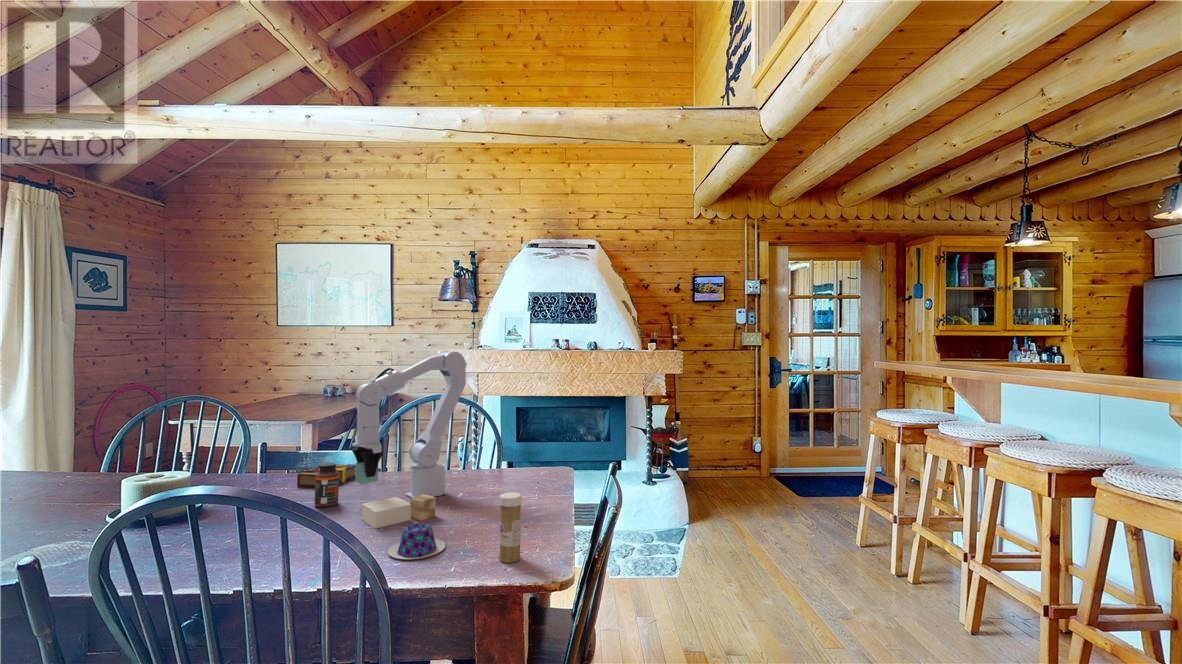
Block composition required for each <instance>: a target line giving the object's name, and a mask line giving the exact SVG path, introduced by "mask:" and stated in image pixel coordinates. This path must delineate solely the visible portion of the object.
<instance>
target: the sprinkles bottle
mask: <svg viewBox="0 0 1182 664" xmlns="http://www.w3.org/2000/svg"><path fill="white" fill-rule="evenodd" d="M522 497H523V496H522V494H521V493H519V492H512V491H511V492H510V491H509V492H503V493H501V494H500V495H499V505H500V522H499V556H498V559H499V561H500V562H503V563H507V564H510V563H515V562H517V561H519V560H520V559H521V539H522V538H521V537H522V535H521V533H522V529H521V528H522V518H521V516H522V515H521V514H522V512H521V510H522V509H521V507H522V505H521V504H522V502H523V501H522Z"/></svg>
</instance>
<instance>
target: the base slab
mask: <svg viewBox="0 0 1182 664" xmlns="http://www.w3.org/2000/svg"><path fill="white" fill-rule="evenodd" d="M411 520H412V518H411V504H410V502H408V501H405V500H403V499H401V498H399V497H397V496H394V497H388V498H384V499H380V500H374V501H370V502H365V503H361V521H363V522H365V523H366V524H367V525H369V526H371V527H372V528H374V529H378V528H383V527H387V526H391V525H396V524H401V523H405V522H409V521H411Z"/></svg>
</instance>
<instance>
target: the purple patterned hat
mask: <svg viewBox="0 0 1182 664" xmlns="http://www.w3.org/2000/svg"><path fill="white" fill-rule="evenodd" d="M400 538H401V539H400V541H399V542H397V543H395V544H392V545H391V546H390V547H389V548H388V550H387V554H388V555H389V557H392V558H395V559H398V560H399V559H400V560H417V559H424V558H428V557H431V556H434V555H437V554H438V553H440V552H442V551H443V550H444V549H445V548H446V542H445V541H443V540H441V539H438V538H435V535H434V531H433V527H432V526H430V524H427V523H413V524H409V525H406V526H405V527H404V528H403V530H402V534H401V537H400ZM436 546H438V548H437V547H436Z"/></svg>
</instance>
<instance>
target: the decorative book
mask: <svg viewBox="0 0 1182 664" xmlns="http://www.w3.org/2000/svg"><path fill="white" fill-rule="evenodd" d="M335 464H336V468H335V469H336V470H337V471H338V472H339V484H344V483H346V481H349V480H352V479H351V478H353V477H355V464H356V463H355V464H353V463H350V464H349V463H347V464H338V463H335ZM319 471H320V465H317V467H315V468H311V469H306V470H303V472H300V473H297V481H296V483H297V484H296V485H297V487H302V488H303V487H304V488H305V487H306V488H315V479H316V474H317V473H318V472H319ZM348 479H349V480H348ZM353 479H354V478H353ZM343 482H344V483H343Z"/></svg>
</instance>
